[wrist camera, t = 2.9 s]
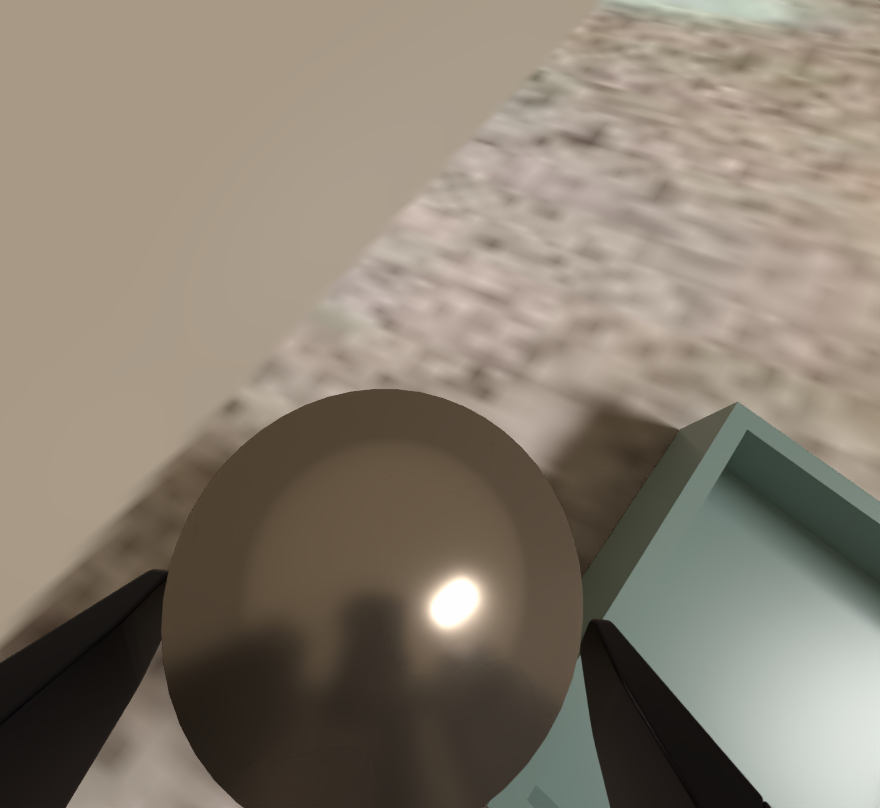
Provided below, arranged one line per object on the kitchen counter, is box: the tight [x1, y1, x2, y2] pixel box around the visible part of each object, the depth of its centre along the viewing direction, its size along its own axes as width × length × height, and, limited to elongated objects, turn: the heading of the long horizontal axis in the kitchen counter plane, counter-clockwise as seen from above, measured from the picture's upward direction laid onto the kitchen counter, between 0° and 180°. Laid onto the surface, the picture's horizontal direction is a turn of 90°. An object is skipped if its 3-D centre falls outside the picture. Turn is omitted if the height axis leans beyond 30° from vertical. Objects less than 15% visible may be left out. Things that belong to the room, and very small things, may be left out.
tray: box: [487, 402, 880, 808], centre depth 15 cm, size 16×16×4 cm
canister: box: [161, 389, 583, 808], centre depth 11 cm, size 5×5×13 cm
